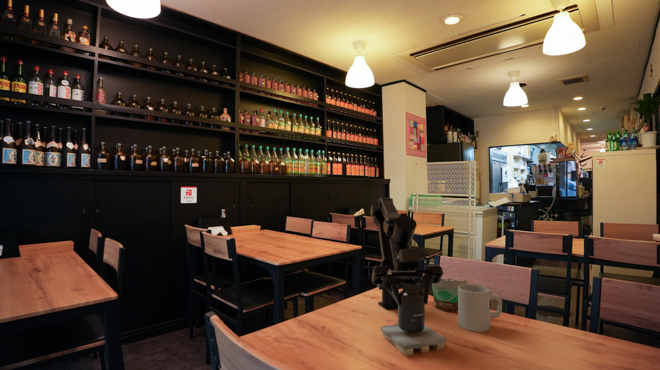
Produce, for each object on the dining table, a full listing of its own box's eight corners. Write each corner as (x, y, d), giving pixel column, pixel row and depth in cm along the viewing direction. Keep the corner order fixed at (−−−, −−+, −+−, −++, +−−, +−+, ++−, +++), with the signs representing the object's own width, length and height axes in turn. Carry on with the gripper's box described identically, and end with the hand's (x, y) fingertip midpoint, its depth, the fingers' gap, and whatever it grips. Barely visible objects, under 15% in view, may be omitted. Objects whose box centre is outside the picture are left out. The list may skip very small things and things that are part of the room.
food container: (428, 310, 110) (427, 280, 110) (430, 304, 115) (429, 275, 115) (468, 315, 105) (468, 283, 105) (468, 309, 111) (468, 278, 111)
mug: (463, 331, 93) (462, 292, 93) (454, 319, 102) (454, 283, 102) (508, 333, 92) (507, 293, 92) (495, 321, 101) (495, 284, 101)
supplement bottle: (420, 335, 83) (419, 287, 83) (394, 329, 86) (393, 283, 87) (428, 325, 89) (427, 280, 89) (403, 320, 92) (403, 277, 92)
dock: (380, 336, 91) (380, 326, 91) (418, 329, 95) (418, 320, 95) (404, 356, 80) (404, 346, 80) (446, 348, 84) (446, 338, 84)
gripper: (372, 236, 91) (380, 289, 80) (440, 235, 92) (457, 288, 81) (369, 259, 99) (375, 310, 88) (431, 258, 100) (445, 308, 89)
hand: (412, 304), depth 86 cm, fingers closed on supplement bottle, 7 cm apart
